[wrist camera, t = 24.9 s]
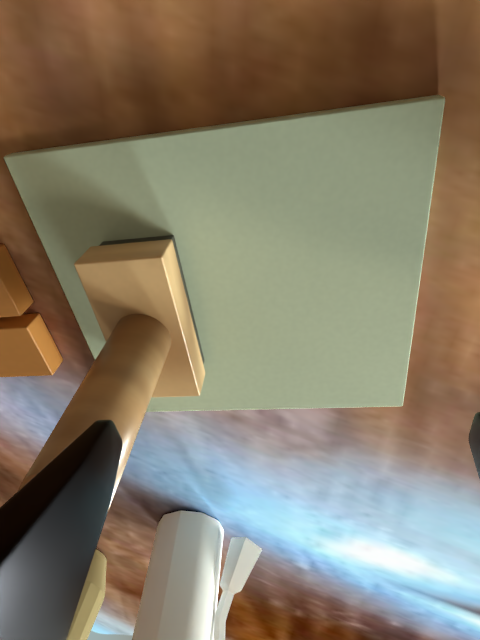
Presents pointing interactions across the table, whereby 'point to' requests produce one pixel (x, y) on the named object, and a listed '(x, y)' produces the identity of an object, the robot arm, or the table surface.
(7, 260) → the block
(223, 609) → the white spray bottle
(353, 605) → the table surface
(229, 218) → the mat
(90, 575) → the squeeze bottle
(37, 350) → the block
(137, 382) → the rubber stamp
